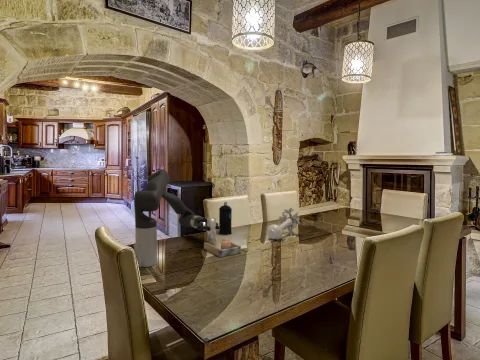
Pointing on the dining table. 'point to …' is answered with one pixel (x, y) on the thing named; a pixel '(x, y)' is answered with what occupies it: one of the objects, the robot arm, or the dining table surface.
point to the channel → (225, 252)
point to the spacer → (225, 244)
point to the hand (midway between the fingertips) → (214, 228)
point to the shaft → (211, 229)
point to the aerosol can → (225, 219)
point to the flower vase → (284, 225)
